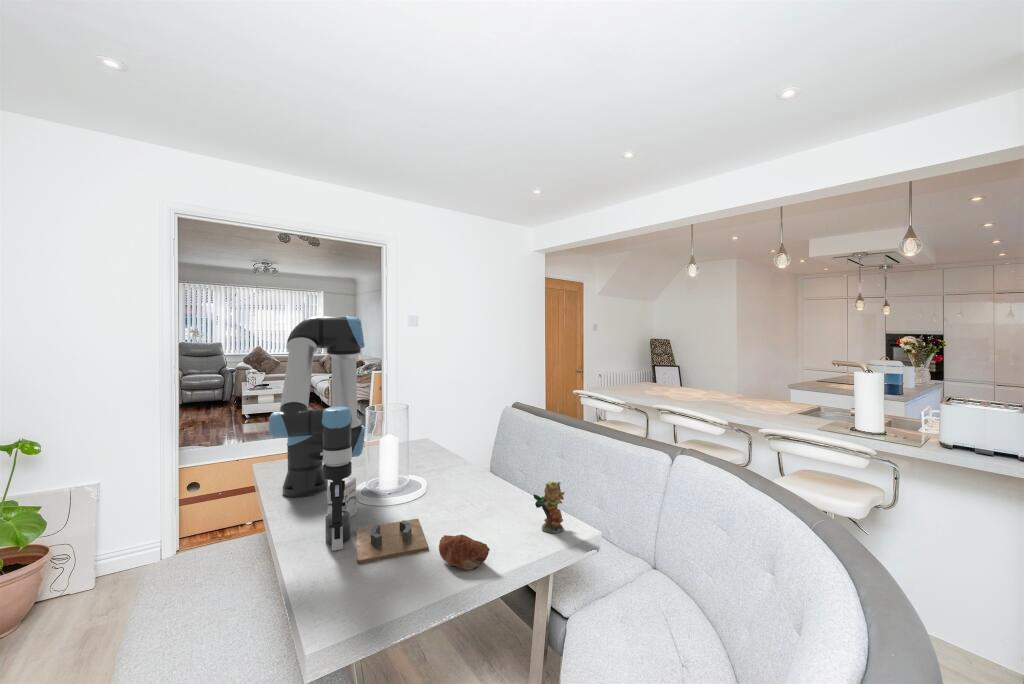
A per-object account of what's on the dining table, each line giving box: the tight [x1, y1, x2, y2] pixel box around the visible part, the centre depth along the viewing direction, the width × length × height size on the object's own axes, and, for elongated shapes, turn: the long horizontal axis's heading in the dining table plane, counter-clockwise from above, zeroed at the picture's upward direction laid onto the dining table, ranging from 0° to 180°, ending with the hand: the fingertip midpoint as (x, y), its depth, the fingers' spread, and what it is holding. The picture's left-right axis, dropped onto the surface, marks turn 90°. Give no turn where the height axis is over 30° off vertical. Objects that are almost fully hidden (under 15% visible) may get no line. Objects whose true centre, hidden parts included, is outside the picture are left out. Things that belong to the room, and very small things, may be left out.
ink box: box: [326, 476, 357, 518], centre depth 131 cm, size 9×5×12 cm, turn 168°
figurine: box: [533, 480, 566, 534], centre depth 124 cm, size 9×8×15 cm
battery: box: [324, 511, 351, 547], centre depth 117 cm, size 6×6×7 cm
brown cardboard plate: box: [356, 518, 430, 565], centre depth 117 cm, size 18×18×4 cm
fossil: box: [438, 534, 491, 570], centre depth 106 cm, size 13×8×10 cm
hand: (337, 539), depth 117 cm, fingers open, 11 cm apart
